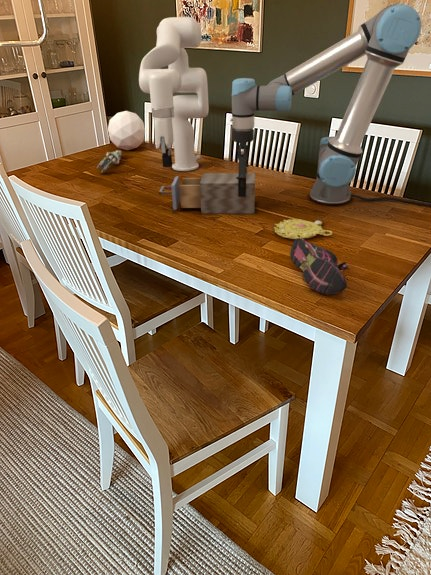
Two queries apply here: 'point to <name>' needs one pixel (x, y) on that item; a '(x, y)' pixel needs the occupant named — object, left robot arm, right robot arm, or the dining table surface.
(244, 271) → the dining table surface
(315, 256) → the athletic shoe
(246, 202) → the cabinet
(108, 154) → the figurine
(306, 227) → the decorative object
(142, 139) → the sphere
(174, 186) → the drawer
